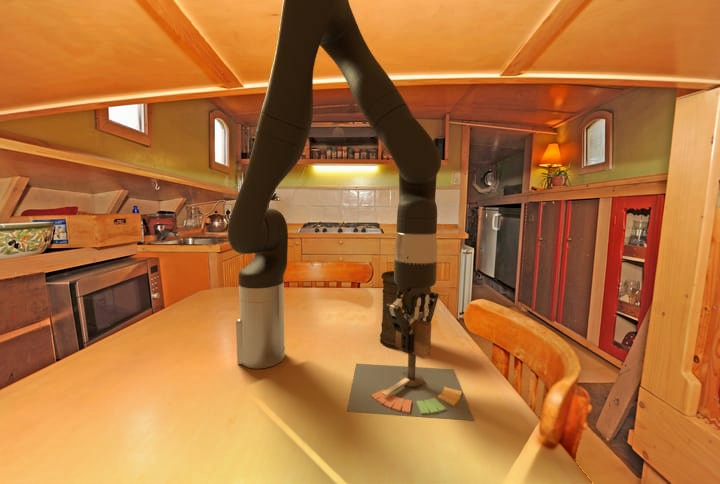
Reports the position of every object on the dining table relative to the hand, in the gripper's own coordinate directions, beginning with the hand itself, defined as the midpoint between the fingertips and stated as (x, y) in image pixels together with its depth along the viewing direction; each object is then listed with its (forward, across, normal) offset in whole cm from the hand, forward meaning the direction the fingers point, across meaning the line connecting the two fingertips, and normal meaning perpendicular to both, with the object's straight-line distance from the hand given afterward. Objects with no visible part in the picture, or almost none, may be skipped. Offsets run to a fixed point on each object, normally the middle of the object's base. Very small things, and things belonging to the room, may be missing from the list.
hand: (412, 349), depth 56 cm
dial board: (+8, -2, 0) cm, 8 cm away
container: (+8, +12, +13) cm, 19 cm away
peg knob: (+6, -3, 0) cm, 7 cm away
